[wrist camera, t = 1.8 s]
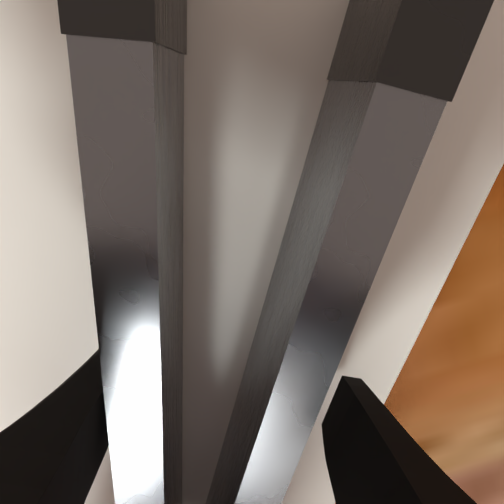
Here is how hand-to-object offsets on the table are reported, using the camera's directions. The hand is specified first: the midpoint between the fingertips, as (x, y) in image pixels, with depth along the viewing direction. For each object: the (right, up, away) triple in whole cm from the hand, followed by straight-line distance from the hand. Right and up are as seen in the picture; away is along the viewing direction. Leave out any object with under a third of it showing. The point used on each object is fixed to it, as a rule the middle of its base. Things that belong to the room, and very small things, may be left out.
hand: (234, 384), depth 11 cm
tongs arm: (-2, +2, 0) cm, 3 cm away
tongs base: (0, 0, +1) cm, 1 cm away
